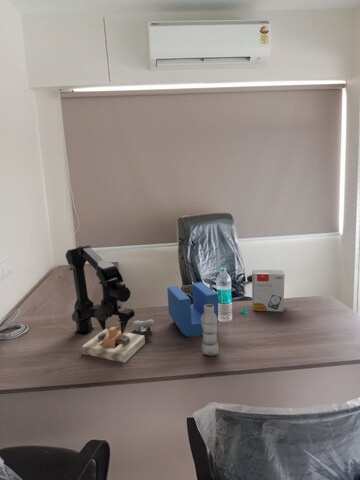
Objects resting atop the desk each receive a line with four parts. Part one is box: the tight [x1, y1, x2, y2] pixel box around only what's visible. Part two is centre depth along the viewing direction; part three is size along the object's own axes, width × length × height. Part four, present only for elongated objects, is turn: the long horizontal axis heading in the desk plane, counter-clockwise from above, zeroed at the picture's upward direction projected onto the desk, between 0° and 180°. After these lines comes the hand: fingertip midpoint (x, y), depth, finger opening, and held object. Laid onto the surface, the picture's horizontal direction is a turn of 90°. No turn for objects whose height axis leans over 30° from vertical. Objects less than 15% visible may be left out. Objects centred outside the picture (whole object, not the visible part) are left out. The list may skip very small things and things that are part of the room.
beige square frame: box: [81, 328, 146, 363], centre depth 140 cm, size 20×16×5 cm
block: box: [167, 281, 219, 338], centre depth 155 cm, size 18×18×18 cm
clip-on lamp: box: [116, 318, 155, 338], centre depth 152 cm, size 12×6×18 cm
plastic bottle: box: [201, 304, 220, 357], centre depth 131 cm, size 6×7×20 cm
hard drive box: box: [251, 269, 285, 313], centre depth 172 cm, size 16×8×20 cm, turn 81°
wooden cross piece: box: [104, 326, 123, 349], centre depth 139 cm, size 4×8×8 cm, turn 157°
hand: (113, 331), depth 139 cm, fingers open, 9 cm apart
